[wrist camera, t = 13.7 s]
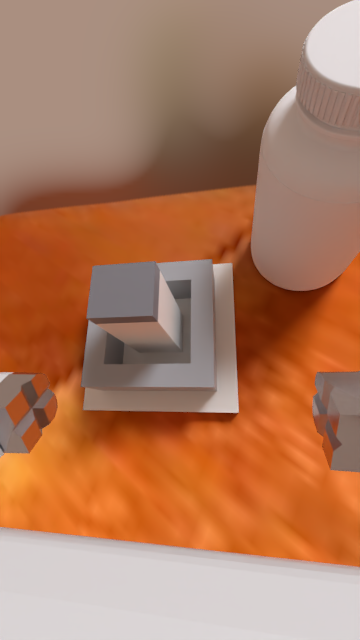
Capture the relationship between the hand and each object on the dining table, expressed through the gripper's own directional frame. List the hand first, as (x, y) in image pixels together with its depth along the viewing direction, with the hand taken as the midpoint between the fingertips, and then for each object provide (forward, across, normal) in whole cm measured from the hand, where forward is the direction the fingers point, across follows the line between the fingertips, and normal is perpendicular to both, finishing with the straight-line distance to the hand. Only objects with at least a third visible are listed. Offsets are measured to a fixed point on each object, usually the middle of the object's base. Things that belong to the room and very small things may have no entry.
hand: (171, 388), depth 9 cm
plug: (+13, +4, +6) cm, 15 cm away
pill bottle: (+19, -7, +2) cm, 21 cm away
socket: (+14, +4, +6) cm, 16 cm away
